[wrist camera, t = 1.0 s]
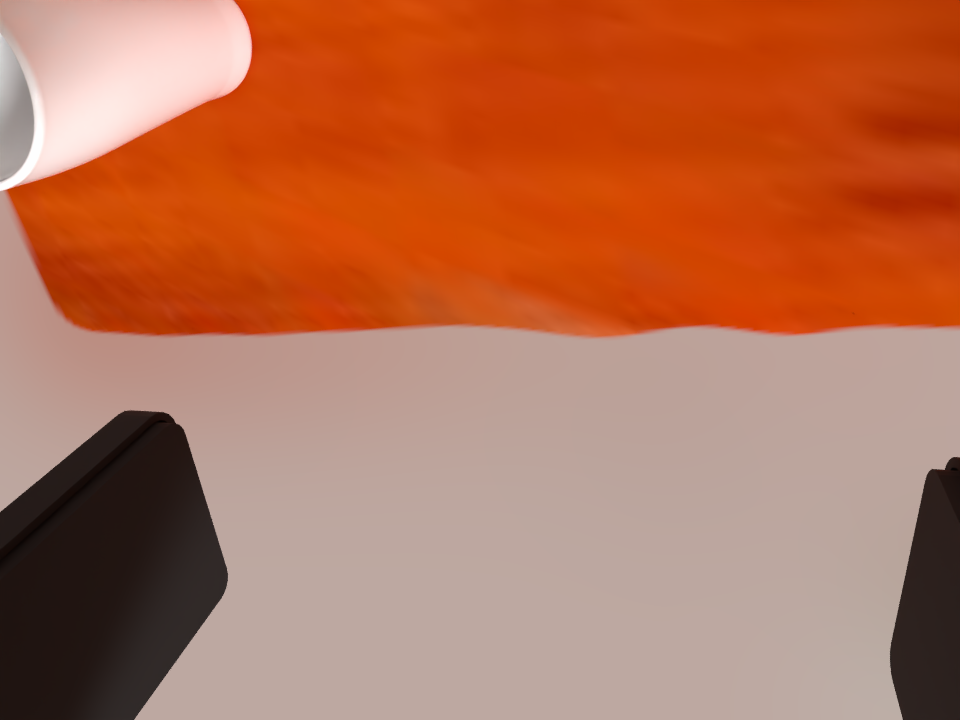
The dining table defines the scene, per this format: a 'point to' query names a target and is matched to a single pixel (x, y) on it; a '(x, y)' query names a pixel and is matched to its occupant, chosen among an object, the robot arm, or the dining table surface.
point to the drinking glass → (107, 74)
